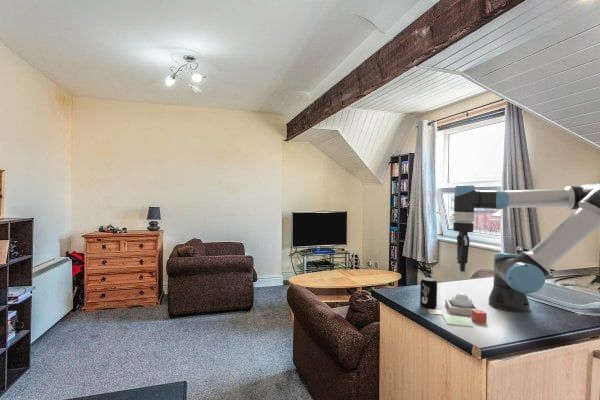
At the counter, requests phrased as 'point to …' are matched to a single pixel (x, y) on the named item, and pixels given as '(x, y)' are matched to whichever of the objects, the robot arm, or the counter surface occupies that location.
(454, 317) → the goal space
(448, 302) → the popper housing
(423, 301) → the beverage can
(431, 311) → the track space
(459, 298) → the dome
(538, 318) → the counter surface
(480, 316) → the red die
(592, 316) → the counter surface
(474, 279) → the counter surface
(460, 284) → the counter surface
